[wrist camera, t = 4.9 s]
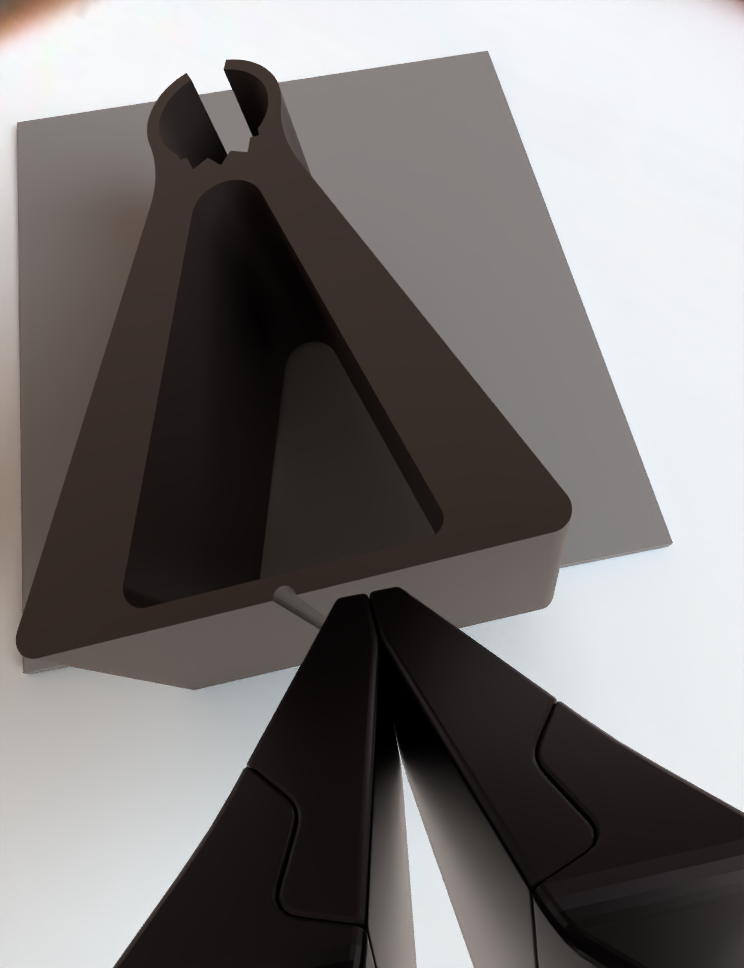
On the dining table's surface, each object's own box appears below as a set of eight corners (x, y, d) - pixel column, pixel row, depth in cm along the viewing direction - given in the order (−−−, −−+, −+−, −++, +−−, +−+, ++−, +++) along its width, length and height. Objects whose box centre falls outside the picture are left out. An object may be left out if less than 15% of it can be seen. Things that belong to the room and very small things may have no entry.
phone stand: (13, 664, 11) (17, 129, 16) (183, 692, 17) (149, 290, 21) (579, 524, 10) (404, -3, 15) (559, 604, 15) (437, 202, 20)
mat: (668, 546, 18) (672, 543, 17) (29, 674, 17) (23, 672, 16) (486, 59, 24) (487, 50, 24) (21, 130, 23) (17, 122, 23)
